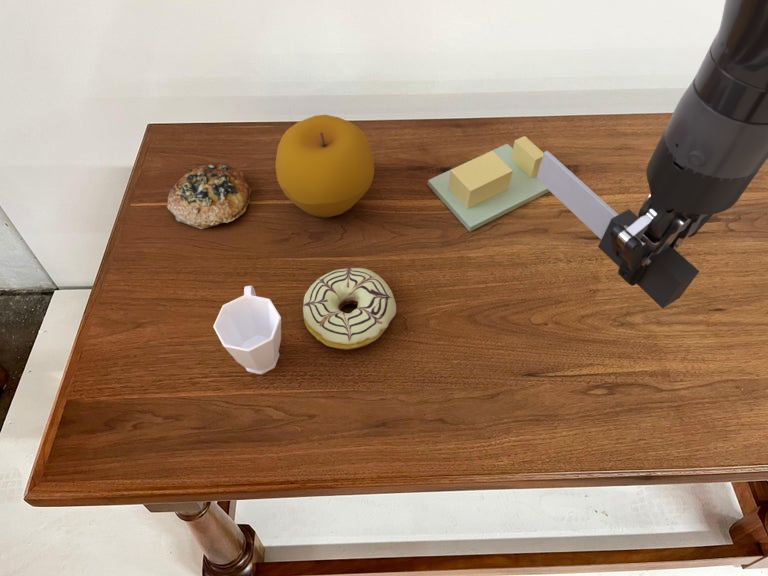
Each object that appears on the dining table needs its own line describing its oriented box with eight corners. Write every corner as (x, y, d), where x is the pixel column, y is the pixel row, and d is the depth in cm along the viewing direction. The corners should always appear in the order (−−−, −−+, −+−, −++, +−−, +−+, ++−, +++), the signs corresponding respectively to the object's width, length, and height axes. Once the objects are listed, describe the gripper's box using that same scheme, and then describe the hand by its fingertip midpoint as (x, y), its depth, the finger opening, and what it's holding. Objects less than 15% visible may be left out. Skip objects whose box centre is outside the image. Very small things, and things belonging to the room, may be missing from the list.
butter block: (508, 189, 83) (513, 170, 80) (467, 209, 80) (470, 191, 78) (488, 169, 85) (492, 150, 82) (448, 188, 83) (450, 169, 80)
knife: (545, 173, 68) (555, 143, 65) (679, 297, 59) (699, 271, 55) (529, 181, 68) (538, 151, 64) (662, 308, 58) (681, 282, 55)
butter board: (550, 191, 84) (552, 185, 83) (469, 232, 80) (470, 227, 79) (506, 148, 88) (507, 143, 88) (427, 185, 84) (427, 180, 84)
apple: (344, 153, 88) (339, 88, 78) (393, 209, 82) (395, 145, 72) (266, 188, 84) (250, 124, 75) (311, 250, 78) (301, 188, 68)
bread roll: (226, 159, 87) (220, 136, 82) (268, 212, 83) (263, 190, 79) (156, 196, 83) (145, 173, 79) (197, 252, 80) (187, 232, 75)
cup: (230, 389, 67) (213, 356, 60) (228, 314, 72) (212, 275, 66) (293, 380, 68) (283, 346, 61) (286, 306, 73) (277, 267, 66)
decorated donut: (412, 311, 73) (413, 294, 69) (351, 372, 68) (350, 357, 65) (348, 266, 76) (347, 247, 73) (287, 320, 72) (283, 303, 69)
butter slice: (540, 173, 84) (546, 154, 81) (530, 178, 84) (535, 159, 81) (520, 154, 86) (524, 135, 83) (510, 158, 86) (514, 140, 83)
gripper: (737, 84, 50) (659, 220, 65) (615, 145, 46) (560, 276, 60) (815, 136, 47) (714, 268, 61) (690, 207, 43) (613, 330, 57)
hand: (638, 271), depth 61 cm, fingers closed on knife, 2 cm apart
